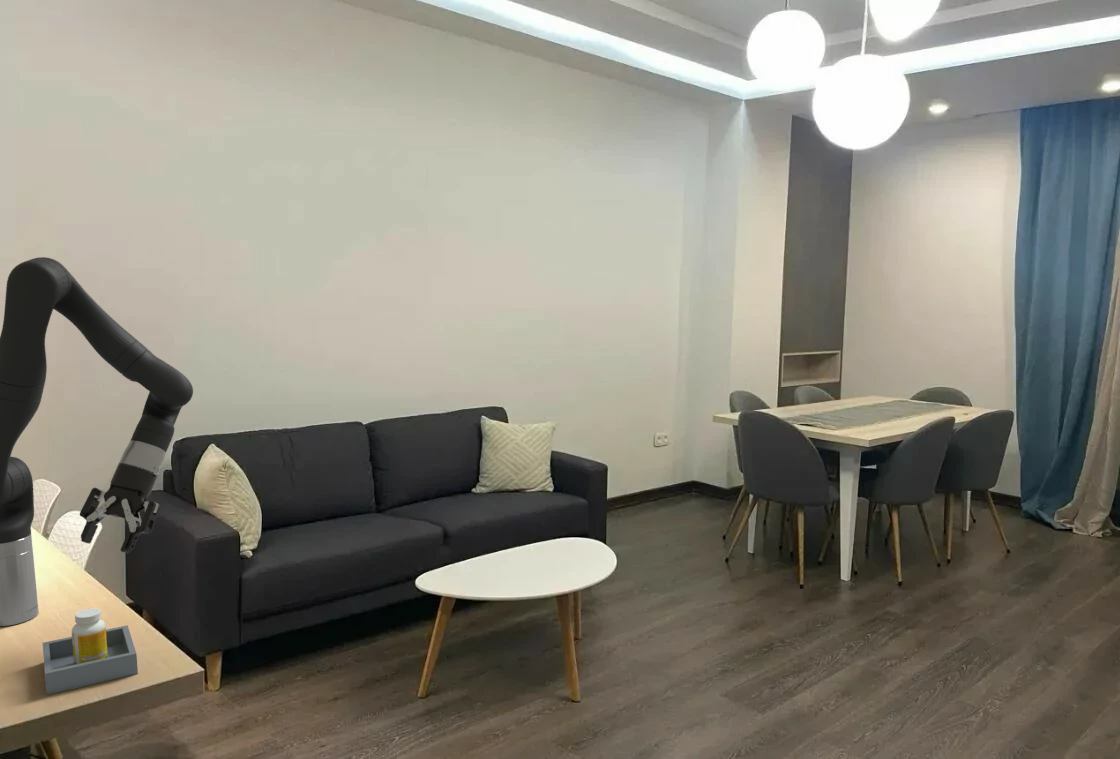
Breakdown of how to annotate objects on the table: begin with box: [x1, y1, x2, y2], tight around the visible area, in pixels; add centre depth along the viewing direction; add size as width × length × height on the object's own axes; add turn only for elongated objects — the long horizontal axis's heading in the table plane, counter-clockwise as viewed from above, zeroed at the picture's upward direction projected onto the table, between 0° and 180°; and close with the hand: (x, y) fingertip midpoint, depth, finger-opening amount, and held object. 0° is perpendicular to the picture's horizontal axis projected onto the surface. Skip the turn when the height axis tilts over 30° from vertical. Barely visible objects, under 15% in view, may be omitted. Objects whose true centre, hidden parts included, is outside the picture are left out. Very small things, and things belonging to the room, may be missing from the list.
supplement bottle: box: [71, 608, 108, 665], centre depth 155 cm, size 5×5×10 cm
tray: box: [42, 624, 139, 696], centre depth 155 cm, size 14×14×4 cm
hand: (105, 547), depth 165 cm, fingers open, 8 cm apart
